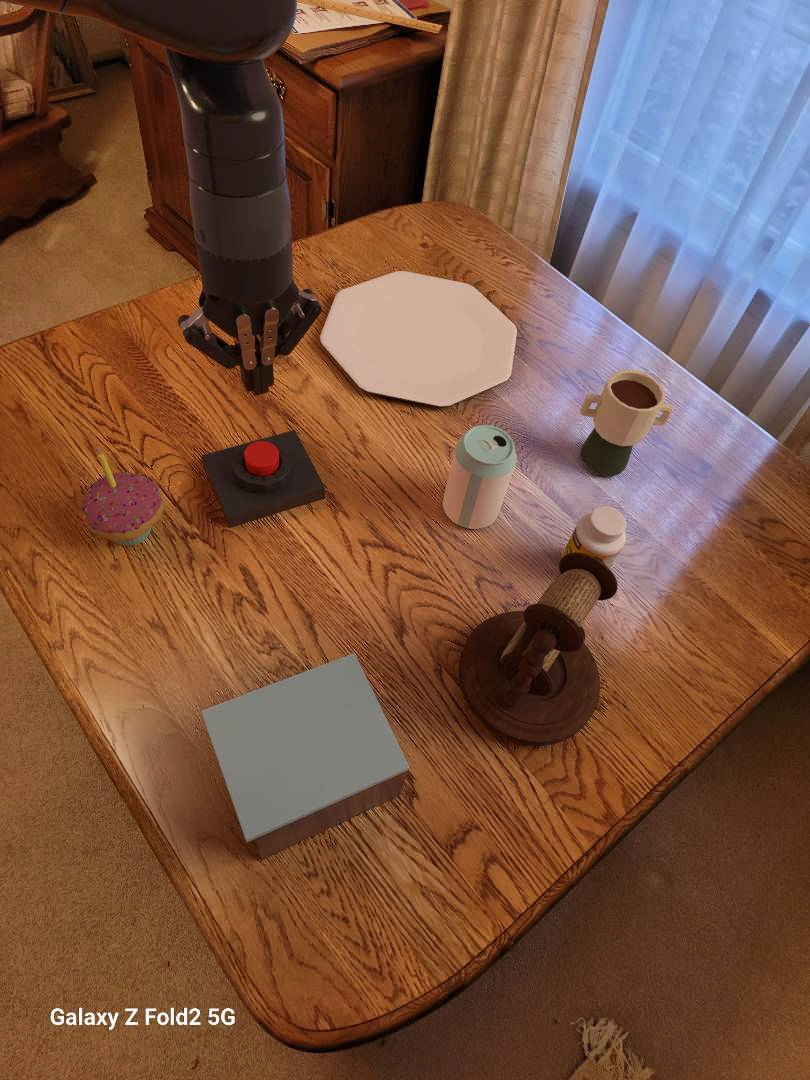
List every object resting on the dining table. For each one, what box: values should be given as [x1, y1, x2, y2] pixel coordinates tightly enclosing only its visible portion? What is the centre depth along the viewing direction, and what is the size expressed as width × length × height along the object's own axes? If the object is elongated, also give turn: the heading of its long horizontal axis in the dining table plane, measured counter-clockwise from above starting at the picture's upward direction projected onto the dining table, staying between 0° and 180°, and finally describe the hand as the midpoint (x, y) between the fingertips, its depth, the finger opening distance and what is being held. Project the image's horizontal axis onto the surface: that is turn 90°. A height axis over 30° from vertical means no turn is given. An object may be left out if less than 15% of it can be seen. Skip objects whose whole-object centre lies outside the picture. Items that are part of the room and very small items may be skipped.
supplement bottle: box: [558, 505, 627, 570], centre depth 84 cm, size 6×6×10 cm
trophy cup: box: [579, 369, 674, 478], centre depth 93 cm, size 11×7×13 cm, turn 86°
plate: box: [319, 270, 518, 408], centre depth 108 cm, size 28×28×2 cm
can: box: [442, 424, 518, 530], centre depth 87 cm, size 7×7×12 cm
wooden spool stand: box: [458, 552, 619, 747], centre depth 71 cm, size 15×15×20 cm
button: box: [244, 441, 279, 476], centre depth 87 cm, size 4×4×2 cm
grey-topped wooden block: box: [200, 652, 410, 843], centre depth 64 cm, size 15×12×1 cm
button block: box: [200, 429, 326, 529], centre depth 89 cm, size 12×10×4 cm
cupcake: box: [81, 447, 165, 547], centre depth 80 cm, size 9×8×12 cm
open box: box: [254, 770, 409, 861], centre depth 68 cm, size 14×12×8 cm
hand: (258, 388), depth 72 cm, fingers closed
